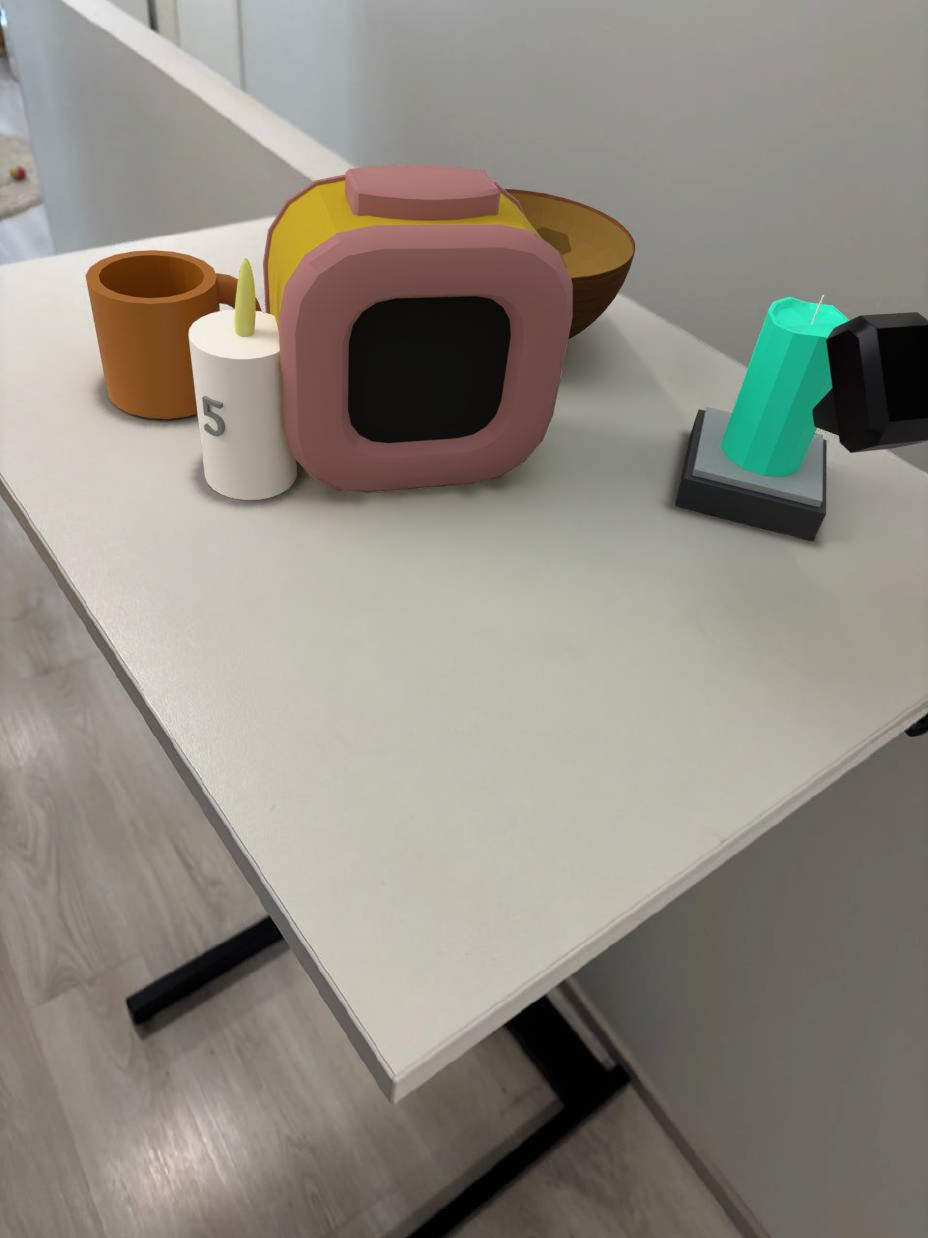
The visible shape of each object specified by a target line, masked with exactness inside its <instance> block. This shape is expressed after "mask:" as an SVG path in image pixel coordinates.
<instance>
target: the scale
mask: <svg viewBox="0 0 928 1238" xmlns="http://www.w3.org/2000/svg"><path fill="white" fill-rule="evenodd" d="M731 414H732V412H730V411H726V410H721V409H718V408H713V407H709V406H706V407H705V409H700V408H698V409H697V413H696V415H695V418H694V422H693V425H692V427H691V430H690V434H689V438H688V442H687V448H686V453H685V456H684V460H683V466H682V469H681V476H680V480H679V485H678V490H677V494H676V499H675V504H674V505H675V506H676V507H679V508H684V509H686V510H691V511H695V512H699V513H703V514H707V515H709V516H710V515H711V516H715V517H719V518H722V519H726V520H730V521H733V522H737V523H741V524H744V525H745V524H746V525H750V526H753V527H758V528H761V529H764V530H769V531H772V532H777V533H780V534H783V535H788V536H792V537H796V538H800V539H804V540H808V541H810V542H811V541H812V542H813V541H814V540H815V538H816V536H817V534H818V532H819V530H820V528H821V526H822V524H823V522H824V520H825V517H826V516H827V470H828V469H827V463H828V462H827V461H828V459H827V455H828V452H827V447H828V445H827V444H828V443H827V439H824V434H822V433H817V432H815V434H814V436H813V439H812V441H811V443H810V446H809V448H808V450H807V453H806V455H805V457H804V459H803V462H802V464H801V466H800V469H799V471H797V472H794V473H792V474H789V475H787V476H763V475H760V474H757V473H755V472H752V471H749V470H746V469H743V468H741V467H740V466H738V465H737V464H736V463H734V462H733V461H732V460H730V459H729V458H727V457H726V455H725V453H724V451H723V448H722V446H721V442H722V439H723V437H724V434H725V431H726V428H727V425H728V422H729V420H730V417H731Z"/></svg>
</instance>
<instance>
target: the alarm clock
mask: <svg viewBox="0 0 928 1238" xmlns="http://www.w3.org/2000/svg"><path fill="white" fill-rule="evenodd" d="M504 189H505V188H504V187H502V186H501V185H500V184H499V183H497V182H496V181H494V180H492V178H491V177H490V176H489V174H488V173H487V171H485V169H477V168H468V167H462V166H461V167H460V166H448V165H433V164H385V165H373V166H372V165H370V166H362V167H354V168H353V167H352V168H348V169H347V171H346V172H345V173H344V174H341V175H336V176H331V177H326V178H321V179H315V180H313V182H311V183H309V184H308V185H307V186H304V188H302V189H301V190H299V191H298V192H297V193H295V194H294V195H292V196H291V197H289V198H287V199H286V200H285V202H284V203H283V205H282V207H281V208H280V210H279V211H278V213H277V215H276V216H275V218H274V219H273V221H272V223H271V225H270V226H269V227H268V229H267V234H266V241H265V247H264V253H263V260H262V270H263V271H262V273H263V287H264V288H263V291H264V292H263V293H264V309H265V311H264V313H268V314H271V315H274V316H275V320H276V323H277V327H278V331H279V346H280V369H281V392H282V415H283V428H284V431H285V435H286V439H287V442H288V446H289V449H290V453H291V454H292V455H293V457H294V458H295V459H296V461H297V463H298V464H299V465H300V466H301V467H302V468H303V469H304V471H306V473H307V474H308V475H309V476H310V477H311V478H312V479H314V480H315V481H317V482H318V483H319V482H320V483H321V484H324V485H326V486H328V487H330V488H333V489H334V490H337V491H341V492H352V493H353V492H354V493H366V494H370V493H371V494H372V493H382V492H394V491H395V492H396V491H406V490H407V491H408V490H417V489H418V490H420V489H430V488H431V489H432V488H443V487H444V488H445V487H454V486H467V485H473V484H478V483H481V482H485V481H489V480H493V479H499V478H500V477H503V475H505V474H507V473H508V472H510V471H511V470H514V469H515V468H516V467H518V466H520V465H522V464H524V463H525V462H526V461H527V459H528V458H529V457H530V456H531V455H532V454H533V453H534V451H535V450H536V449H537V448H538V447H539V446H540V444H541V443H542V442H543V441H544V439H545V436H546V434H547V432H548V429H549V428H550V427H549V426H550V425H551V422H552V419H553V417H554V413H555V409H556V408H555V407H556V404H557V399H558V393H559V387H560V384H561V379H562V373H563V368H564V362H565V358H566V352H567V348H568V342H569V340H568V338H569V333H570V328H571V322H572V317H573V286H572V280H571V277H570V275H569V273H568V271H567V269H566V266H565V264H564V262H563V260H562V258H561V256H560V253H559V251H558V250H556V249H555V248H554V247H553V246H551V245H550V244H549V243H548V242H546V241H545V240H544V239H543V238H541V236H540V235H539V234H538V233H537V231H536V230H535V229H534V227H533V226H532V225H531V224H530V222H529V221H528V220H527V218H526V216H525V214H524V212H523V209H522V207H521V205H520V203H519V201H518V200H517V199H516V198H514V197H513V196H512V195H511V194H509V193H508V192H507V191H506V190H504Z"/></svg>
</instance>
